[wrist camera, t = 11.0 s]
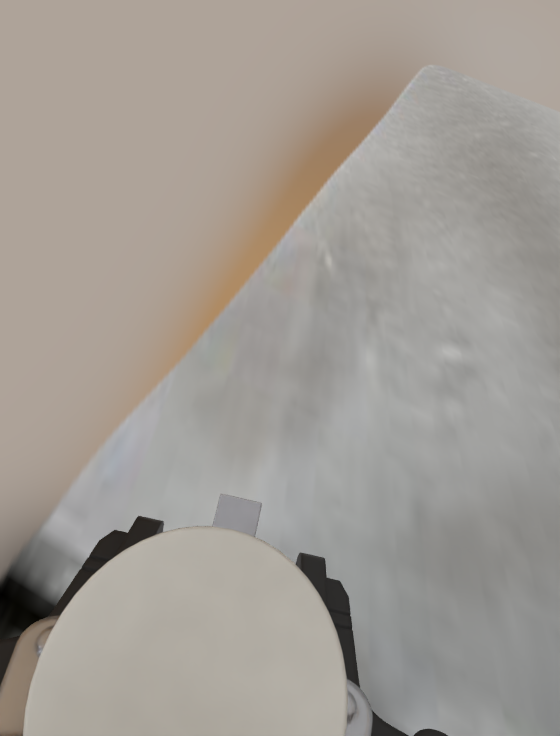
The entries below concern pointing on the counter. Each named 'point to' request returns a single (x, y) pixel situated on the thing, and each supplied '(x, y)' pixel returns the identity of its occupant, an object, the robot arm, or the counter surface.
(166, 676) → the blade
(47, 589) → the counter surface
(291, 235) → the counter surface
